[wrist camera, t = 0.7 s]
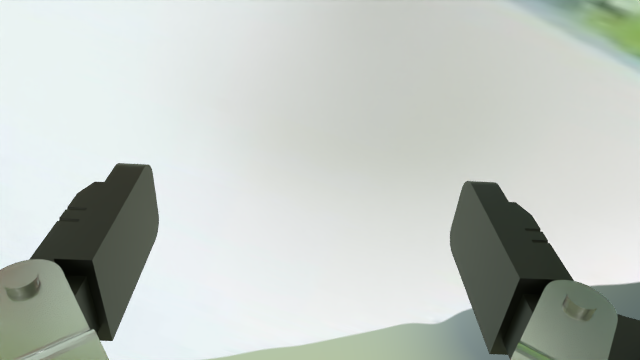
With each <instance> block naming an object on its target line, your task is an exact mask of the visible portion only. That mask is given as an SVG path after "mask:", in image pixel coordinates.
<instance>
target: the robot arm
mask: <svg viewBox="0 0 640 360" xmlns="http://www.w3.org/2000/svg"><path fill="white" fill-rule="evenodd" d="M59 219H60V220H59V221H57V222H56V224H55V225H54V226H53V228H52V229H51V231H50V232H49V233H48V235H47V236H46V237H45V239H44V240H43V242H42V243H41V244H40V246H39V247H38V248H37V250H36V251H35V253H34V254H33V255H32V257H31V258H30V259H29V260H26V261H21V262H18V263H14V264H12V265H9V266H7V267H5V268H3V269H1V270H0V360H109V359H108V357H107V355H106V352H105V350H104V348H103V346H102V344H101V342H100V341H113V339H114V336H115V334H116V332H117V329H118V327H119V324H120V322H121V320H122V317H123V315H124V313H125V310H126V308H127V306H128V303H129V301H130V298H131V296H132V294H133V291H134V289H135V287H136V284H137V282H138V280H139V277H140V275H141V272H142V270H143V268H144V265H145V263H146V261H147V258H148V256H149V254H150V251H151V249H152V246H153V244H154V242H155V239H156V236H157V232H158V225H159V215H158V207H157V200H156V193H155V186H154V179H153V173H152V169H151V167H150V165H144V164H124V163H118V164H116V166H115V167H114V168H113V170H112V171H111V173H110V174H109V176H108V177H107V179H106V180H105V182H94V183H92V184H91V185H89V186H88V187H86V188H85V189H83V190H82V191H80V192H79V193H77V195H76V196H75V197H74V199H73V200H72V202H71V203H70V204H69V206H68V209H67V210H65V211H64V213H63V214H62V215H61V217H60V218H59ZM450 246H451V251H452V254H453V257H454V260H455V262H456V265H457V268H458V270H459V273H460V276H461V278H462V281H463V284H464V287H465V289H466V292H467V295H468V297H469V300H470V303H471V305H472V308H473V310H474V314H475V316H476V319H477V321H478V324H479V327H480V330H481V332H482V335H483V338H484V340H485V343H486V346H487V349H488V351H489V354H505V355H509V358H510V360H640V320H636V319H632V318H629V317H625V316H622V315H618V314H617V312H616V310H615V308H614V306H613V305H612V304H611V302H610V301H609V300H608V299H607V298H606V297H605V296H603V295H602V294H601V293H599V292H598V291H596V290H595V289H593V288H591V287H589V286H587V285H585V284H582V283H579V282H576V281H574V280H573V279H572V277H571V276H570V274H569V273H568V271H567V269H566V268H565V266H564V265H563V263H562V262H561V260H560V259H559V257H558V256H557V254H556V252H555V251H554V249H553V248H552V246H551V245H550V243H548V240H547V238H546V237H545V235H544V234H543V232H540V228H539V226H538V224H537V223H536V221H535V220H534V218H533V217H532V215H531V214H530V213H528V212H527V211H526V210H525V209H523V208H522V207H521V206H520V205H518V204H517V203H516V202H508V200H507V198H506V197H505V195H504V193H503V192H502V190H501V188H500V187H499V185H498V184H497V183H494V182H474V181H467V182H465V183H464V185H463V187H462V190H461V194H460V197H459V201H458V205H457V208H456V212H455V216H454V219H453V223H452V227H451V232H450Z"/></svg>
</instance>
